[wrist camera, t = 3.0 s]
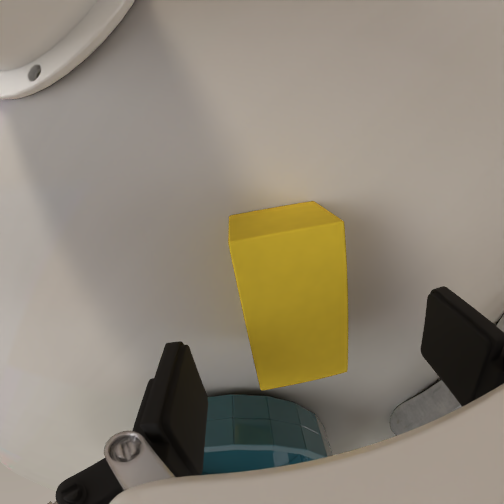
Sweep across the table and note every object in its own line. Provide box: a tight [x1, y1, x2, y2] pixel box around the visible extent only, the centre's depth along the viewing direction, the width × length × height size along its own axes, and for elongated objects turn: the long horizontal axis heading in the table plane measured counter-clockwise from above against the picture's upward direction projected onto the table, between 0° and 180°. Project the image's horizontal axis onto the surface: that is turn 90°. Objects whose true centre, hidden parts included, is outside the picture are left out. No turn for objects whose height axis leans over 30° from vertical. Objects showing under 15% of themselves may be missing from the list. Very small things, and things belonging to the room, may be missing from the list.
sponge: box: [228, 201, 348, 390], centre depth 13 cm, size 7×4×4 cm, turn 10°
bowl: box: [202, 394, 333, 475], centre depth 17 cm, size 13×13×4 cm
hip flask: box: [390, 314, 504, 435], centre depth 19 cm, size 16×4×20 cm
